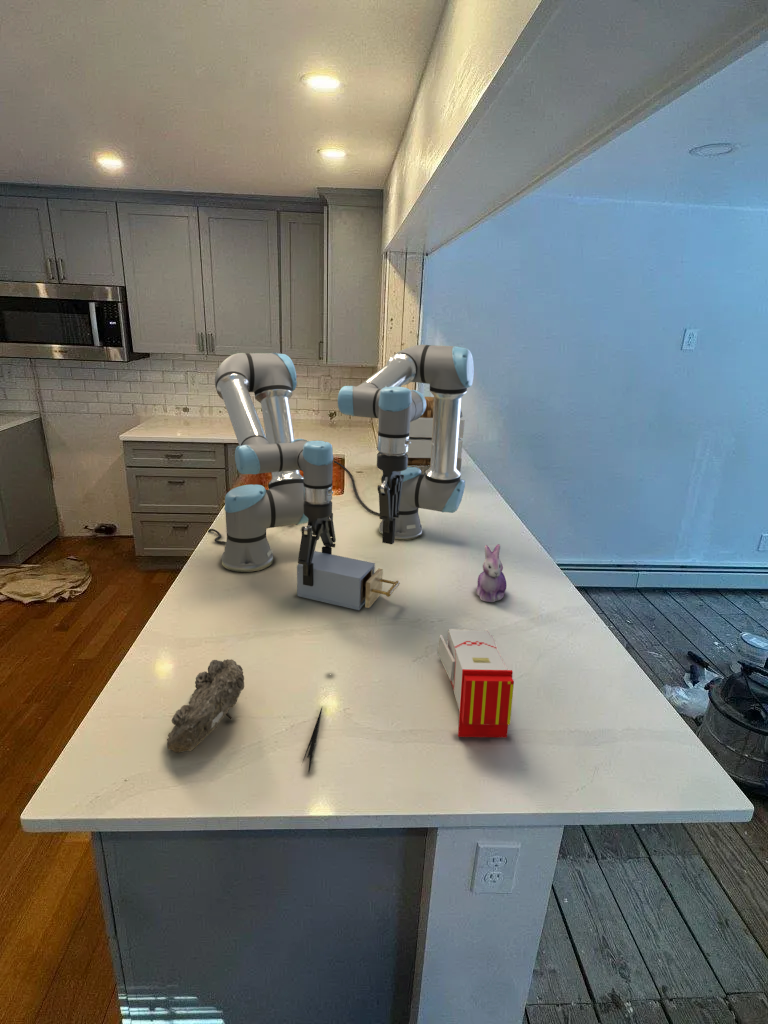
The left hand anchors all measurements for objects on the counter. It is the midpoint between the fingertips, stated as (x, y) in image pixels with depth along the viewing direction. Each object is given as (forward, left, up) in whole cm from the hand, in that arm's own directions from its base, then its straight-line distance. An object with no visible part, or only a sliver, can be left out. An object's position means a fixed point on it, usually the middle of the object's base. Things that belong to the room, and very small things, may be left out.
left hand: (317, 576), depth 156 cm
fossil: (+17, -52, -4) cm, 55 cm away
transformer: (-39, +123, -4) cm, 129 cm away
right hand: (+20, +4, +14) cm, 25 cm away
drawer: (+11, +3, -3) cm, 12 cm away
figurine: (+40, +28, -4) cm, 49 cm away
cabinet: (+5, +1, -4) cm, 7 cm away
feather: (+34, -40, -4) cm, 53 cm away
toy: (+54, -15, -4) cm, 56 cm away
